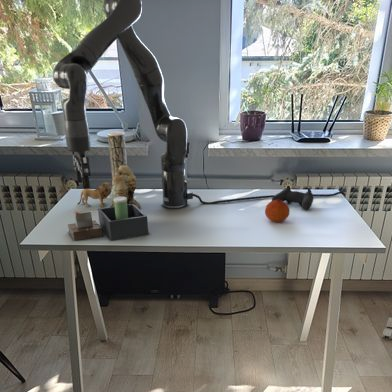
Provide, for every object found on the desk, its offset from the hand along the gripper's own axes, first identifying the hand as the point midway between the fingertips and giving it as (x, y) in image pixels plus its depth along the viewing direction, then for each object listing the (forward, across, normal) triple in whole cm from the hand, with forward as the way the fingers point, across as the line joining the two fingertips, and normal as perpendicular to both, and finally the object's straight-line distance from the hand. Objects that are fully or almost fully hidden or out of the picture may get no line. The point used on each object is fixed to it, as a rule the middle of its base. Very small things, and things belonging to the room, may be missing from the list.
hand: (83, 185), depth 170 cm
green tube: (+16, -2, -12) cm, 20 cm away
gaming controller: (+16, -4, -84) cm, 85 cm away
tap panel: (+17, 0, +1) cm, 17 cm away
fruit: (+17, -17, -68) cm, 72 cm away
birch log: (+17, +42, -25) cm, 52 cm away
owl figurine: (+17, +21, -20) cm, 34 cm away
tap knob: (+14, 0, +1) cm, 14 cm away
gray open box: (+17, -2, -12) cm, 21 cm away
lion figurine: (+17, +32, -11) cm, 37 cm away
